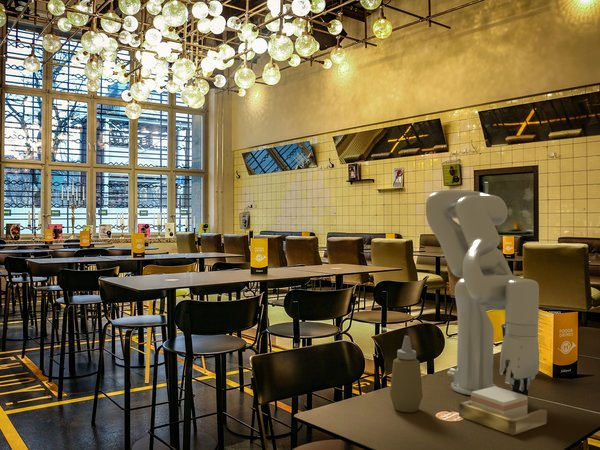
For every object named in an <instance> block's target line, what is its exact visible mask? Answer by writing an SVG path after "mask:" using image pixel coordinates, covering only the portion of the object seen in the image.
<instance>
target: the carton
mask: <svg viewBox="0 0 600 450" xmlns="http://www.w3.org/2000/svg"><path fill="white" fill-rule="evenodd" d="M496 386H497V385H496ZM496 386H494V387H490V388H485V389H481V390H477V391H473V392H471V395H470V400H471V406H474V407H477V408H480V409H483V410H486V411H489V412H492V413H495V414H498V415H501V416H504V417H507V418H510V419H512V418H516V417H519V416H522V415H525V414H528V406H527V405H529V395H528V396H526V395H523V394H519V393H516V392H513V391H511V390H509V389H506V388H502V387H499V386H497V387H496Z"/></svg>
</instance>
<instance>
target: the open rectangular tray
mask: <svg viewBox="0 0 600 450" xmlns="http://www.w3.org/2000/svg"><path fill="white" fill-rule="evenodd" d="M458 416H459V417H461V418H464V419H466V420H469V421H471V422H475V423H478V424H479V425H484V426H486V427H488V428H491V429H494V430H498V431H499V432H503V433H506V434H508V435H511V436H515V435H517V434H521V433H523V432H526V431H529V430H532V429H535V428H537V427H541V426H543V425H546V424H547V423H548V421H547V419H548V418H547V417H548V410H546V409H542V408H540V409H538V410H535V411H531V412H529V413H528V412H527V414H525V415H522V416H519V417H516V418H512V419H510V418H507V417H504V416H501V415H498V414H495V413H492V412H489V411H486V410H483V409H480V408H477V407H474V406H471V399H470V400H466V401H463V402H459V404H458Z"/></svg>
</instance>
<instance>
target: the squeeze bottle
mask: <svg viewBox="0 0 600 450" xmlns="http://www.w3.org/2000/svg"><path fill="white" fill-rule="evenodd" d="M396 353H397V354H396V355H397V357H396V358H394V359H393V362H392V371H391V380H390V389H389V396H390V400H391V403H392V406H393V409H394V410H396V411H399V412H402V413H415V412H417V411H418V410H419V407H420V405H421V403H422V400H423V386H422V385H423V384H422V372H421V362H420V361H419V360H418V359H417V351H416V350H415V349H413V348H412V342H411V337H410V335H404V338H403V341H402V346H401V348H400V349H397V351H396Z"/></svg>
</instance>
